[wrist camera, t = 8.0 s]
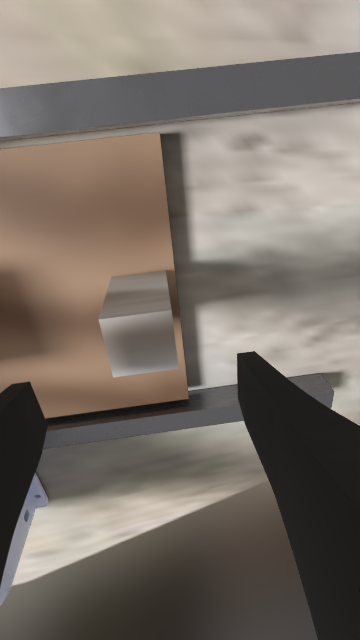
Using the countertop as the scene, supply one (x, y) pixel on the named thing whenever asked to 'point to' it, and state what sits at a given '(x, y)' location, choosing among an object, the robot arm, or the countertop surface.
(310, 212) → the countertop surface
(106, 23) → the countertop surface
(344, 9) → the countertop surface
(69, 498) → the countertop surface
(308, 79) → the guide rails
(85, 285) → the sliding panel with handle
